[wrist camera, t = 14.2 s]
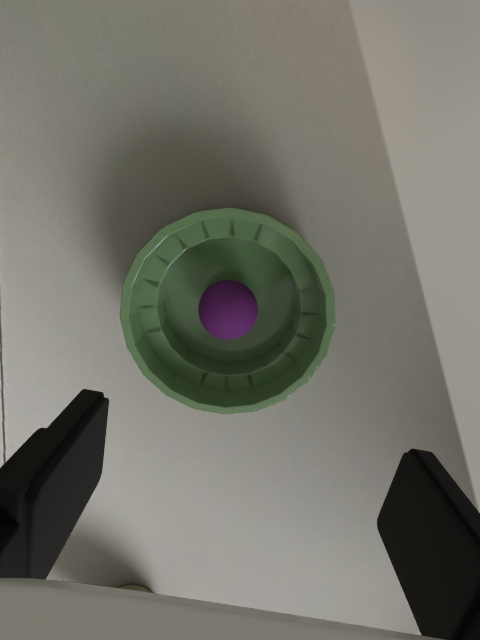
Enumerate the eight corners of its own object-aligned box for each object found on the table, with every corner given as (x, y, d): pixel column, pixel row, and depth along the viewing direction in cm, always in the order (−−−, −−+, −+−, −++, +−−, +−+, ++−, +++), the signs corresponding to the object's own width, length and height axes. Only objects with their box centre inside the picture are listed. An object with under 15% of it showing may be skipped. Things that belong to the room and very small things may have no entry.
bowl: (339, 229, 27) (362, 234, 22) (293, 391, 31) (304, 428, 26) (154, 190, 26) (132, 186, 21) (133, 362, 30) (111, 394, 25)
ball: (263, 281, 27) (264, 293, 23) (251, 333, 29) (250, 354, 24) (207, 270, 27) (199, 280, 23) (198, 322, 29) (188, 341, 24)
